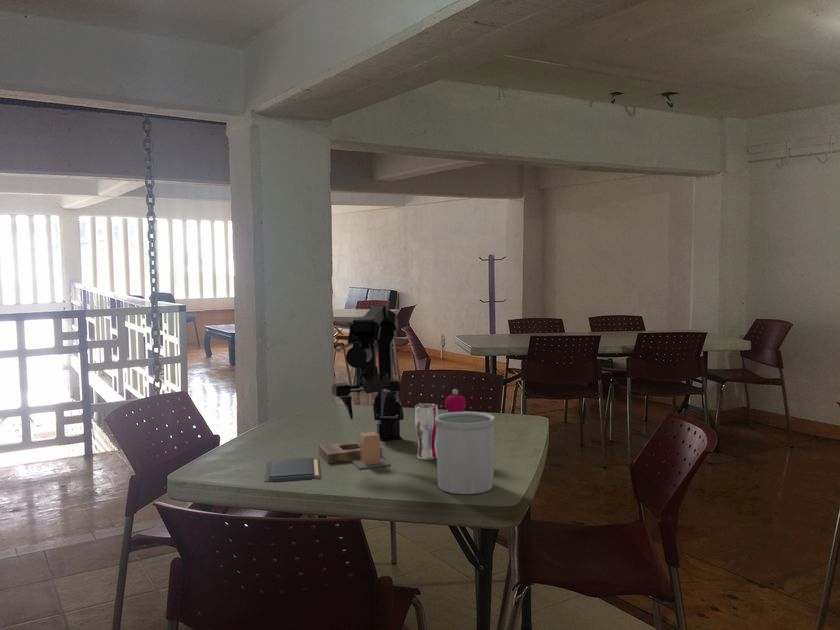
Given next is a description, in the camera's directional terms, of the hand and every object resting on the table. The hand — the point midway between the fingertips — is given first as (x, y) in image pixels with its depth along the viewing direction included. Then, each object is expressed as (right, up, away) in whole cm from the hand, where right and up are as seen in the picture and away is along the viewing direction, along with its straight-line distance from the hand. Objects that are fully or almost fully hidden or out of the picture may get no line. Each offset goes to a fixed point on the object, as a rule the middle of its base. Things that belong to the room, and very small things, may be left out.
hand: (367, 417), depth 196 cm
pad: (+1, -13, 0) cm, 13 cm away
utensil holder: (+26, -14, -22) cm, 37 cm away
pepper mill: (+25, -12, +3) cm, 28 cm away
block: (+1, -12, 0) cm, 12 cm away
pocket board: (-6, -12, +9) cm, 16 cm away
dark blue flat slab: (-20, -15, -5) cm, 25 cm away
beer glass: (+17, -12, +5) cm, 22 cm away
